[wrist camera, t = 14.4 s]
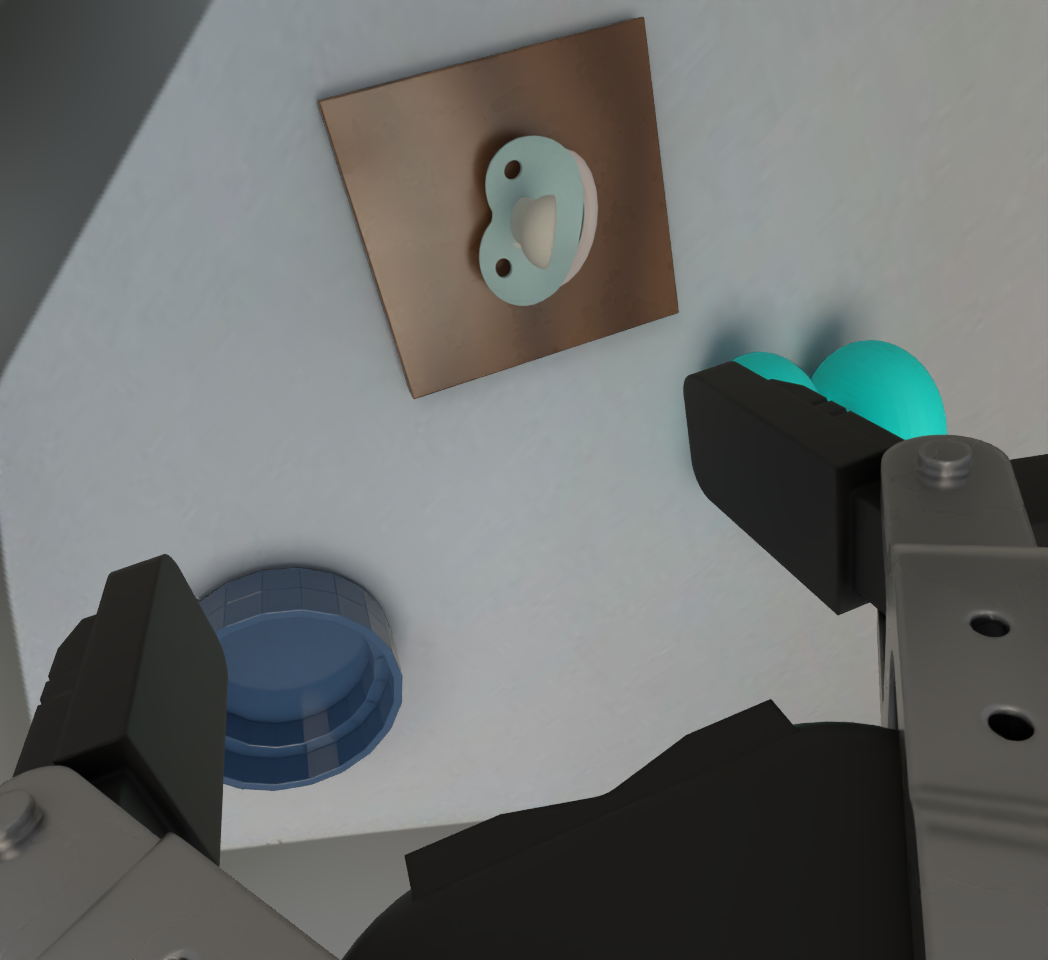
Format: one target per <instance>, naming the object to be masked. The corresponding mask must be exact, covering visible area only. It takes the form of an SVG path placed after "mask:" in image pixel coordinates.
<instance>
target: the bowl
mask: <svg viewBox="0 0 1048 960" xmlns="http://www.w3.org/2000/svg"><path fill="white" fill-rule="evenodd" d="M199 604H200V606H201V608H202V610H203V612H204V613H205V615H206V617H207V619H208V620H209V622H210V624H211V626H212V628H213V629H214V631H215V633H216V635H217V637H218V639H219V641H220V644H221V646H222V649H223V652H224V656H225V659H226V664H227V670H228V690H227V711H226V733H225V755H224V777H223V784H226V785H230V786H233V787H236V788H241V789H252V790H270V791H275V790H276V791H277V790H283V789H289V788H295V787H301V786H307V785H310V784H311V785H312V784H314V783H317V782H319V781H322V780H324V779H327V778H329V777H332V776H334V775H337V774H339V773H342V772H343V771H345V770H347V769H348V768H350V767H351V766H353V765H354V764H355V763H357V762H358V761H360V760H361V759H363V758H364V757H366V756H367V755H368V754H370V752H372V751H373V750H374V748H375V747H376V746H377V745H378V744H379V743H380V741H381V740H382V739H383V738H384V737H385V736H386V734H387V733H388V732H389V731H390V729H391V728H392V725H393V723H394V720H395V718H396V716H397V713H398V711H399V708H400V706H401V704H402V677H403V676H402V672H401V668H400V664H399V660H398V655H397V652H396V647H395V643H394V639H393V635H392V631H391V629H390V627H389V624H388V622H387V619H386V617H385V614H384V612H383V610H382V608H381V607H380V606H379V605H378V604H377V603H376V602H375V601H374V600H373V598H372V597H371V596H370V595H369V594H368V593H367V592H366V591H365V590H364V589H363V588H361V587H359V586H357V585H355V584H353V583H351V582H349V581H347V580H345V579H343V578H341V577H339V576H337V575H335V574H334V575H333V574H332V573H326V572H321V571H315V570H310V569H304V568H287V569H275V570H263V571H259V572H256V573H254V574H251V575H248V576H245V577H242V578H239V579H236V580H234V581H231V582H228V583H227V584H225V585H223V586H222V587H220V588H219V589H217V590H216V591H215V592H213V593H212V594H210V595H209V596H207V597H206V598H204V599H203V600H202V601H200V602H199Z"/></svg>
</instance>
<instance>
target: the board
mask: <svg viewBox="0 0 1048 960" xmlns="http://www.w3.org/2000/svg"><path fill="white" fill-rule="evenodd" d="M317 104H318V107H319V110H320V113H321V116H322V120H323V123H324V126H325V129H326V132H327V135H328V138H329V141H330V145H331V148H332V151H333V154H334V157H335V160H336V163H337V166H338V169H339V173H340V176H341V179H342V182H343V185H344V188H345V191H346V194H347V198H348V201H349V204H350V207H351V210H352V213H353V216H354V219H355V222H356V226H357V229H358V232H359V235H360V238H361V241H362V244H363V247H364V251H365V254H366V257H367V260H368V263H369V266H370V269H371V272H372V275H373V279H374V282H375V285H376V288H377V291H378V294H379V297H380V300H381V304H382V307H383V310H384V313H385V316H386V319H387V322H388V325H389V328H390V332H391V335H392V338H393V341H394V344H395V347H396V350H397V353H398V357H399V360H400V363H401V366H402V369H403V372H404V375H405V378H406V381H407V385H408V388H409V391H410V393H411V395H412V397H413V399H416V398H419V397H422V396H425V395H429V394H432V393H435V392H438V391H441V390H444V389H447V388H450V387H453V386H456V385H459V384H462V383H465V382H468V381H471V380H474V379H477V378H480V377H484V376H487V375H490V374H493V373H496V372H499V371H502V370H505V369H508V368H511V367H514V366H517V365H520V364H523V363H526V362H529V361H532V360H536V359H539V358H542V357H545V356H548V355H551V354H554V353H557V352H560V351H563V350H566V349H569V348H572V347H575V346H578V345H581V344H584V343H587V342H591V341H594V340H597V339H600V338H603V337H606V336H609V335H612V334H615V333H618V332H621V331H624V330H627V329H630V328H633V327H636V326H639V325H643V324H646V323H649V322H652V321H655V320H658V319H661V318H664V317H667V316H670V315H673V314H676V313H678V312H679V310H678V302H677V293H676V285H675V276H674V268H673V259H672V251H671V242H670V234H669V225H668V217H667V208H666V200H665V191H664V183H663V174H662V166H661V157H660V149H659V140H658V132H657V123H656V115H655V106H654V98H653V89H652V81H651V72H650V64H649V55H648V47H647V38H646V30H645V21H644V17H638V18H633V19H629V20H625V21H621V22H617V23H614V24H610V25H606V26H602V27H598V28H594V29H590V30H587V31H583V32H579V33H575V34H571V35H567V36H563V37H560V38H556V39H552V40H548V41H544V42H540V43H536V44H533V45H529V46H525V47H521V48H517V49H513V50H509V51H506V52H502V53H498V54H494V55H490V56H486V57H482V58H479V59H475V60H471V61H467V62H463V63H459V64H455V65H452V66H448V67H444V68H440V69H436V70H432V71H428V72H425V73H421V74H417V75H413V76H409V77H405V78H401V79H398V80H394V81H390V82H386V83H382V84H378V85H374V86H371V87H367V88H363V89H359V90H355V91H351V92H347V93H344V94H340V95H336V96H332V97H328V98H324V99H320V100H318V101H317ZM524 136H542V137H547V138H549V139H552V140H554V141H556V142H558V143H559V144H561V145H562V146H563V147H564V148H566V149H569V150H572V151H575V152H576V153H577V154H578V155H579V156H580V157H581V158H582V159H584V161H585V162H586V164H587V166H588V168H589V169H590V171H591V173H592V176H593V179H594V183H595V186H596V191H597V201H598V216H597V227H596V231H595V236H594V240H593V244H592V246H591V249H590V251H589V254H588V256H587V258H586V260H585V262H584V263H583V265H582V267H581V268H580V270H579V271H578V272H577V273H576V274H575V275H574V276H573V277H572V278H571V280H570V281H569V282H567V283H565V284H563V285H562V286H560V287H559V288H558V290H557V291H556V292H555V293H553V294H552V295H551V296H550V297H548V298H546V299H545V300H543V301H541V302H539V303H536V304H533V305H528V306H518V305H513V304H510V303H508V302H505V301H503V300H502V299H500V298H499V297H498V296H496V295H495V294H494V293H493V292H492V291H491V289H490V288H489V287H488V285H487V284H486V282H485V280H484V278H483V276H482V273H481V269H480V264H479V248H480V244H481V240H482V237H483V235H484V232H485V230H486V228H487V227H488V225H489V224H490V223H491V220H492V210H491V208H490V206H489V204H488V200H487V196H486V190H485V179H486V173H487V169H488V166H489V164H490V162H491V160H492V158H493V157H494V155H495V154H496V153H497V152H498V150H499V149H500V148H502V147H503V146H504V145H505V144H507V143H508V142H510V141H512V140H514V139H516V138H519V137H524ZM520 168H521V167H520V164H519V162H518V161H517V160H512V161H510V162H508V163H507V165H506V166H505V169H504V174H505V176H506V178H508V179H514V178H516V177H517V176H518V174H519V173H520ZM495 269H496V273H497V274H498V276H500V277H505V276H507V275H508V274H509V273H510V269H511V266H510V262H509V261H508V260H507V259H505V258H502V259H500V260H498V261H497V263H496V267H495Z"/></svg>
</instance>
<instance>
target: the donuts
mask: <svg viewBox="0 0 1048 960" xmlns="http://www.w3.org/2000/svg"><path fill="white" fill-rule="evenodd" d="M732 361H735V362H737V363H739V364H741V365H743V366H744V367H746V368H748V369H750V370H751V371H753V372H755V373H757V374H759V375H760V376H762V377H764V378H766V379H767V380H770V379H776V380H781V381H785V382H790V383H795V384H800V385H804V386H806V387H808V388H810V389H811V390H813V391H815V392H817V393H819V394H821V395H823V396H824V397H826V398H827V400H828V401H831V400H832V401H834V402H836V403H837V404H839V405H841V406H843V407H845V408H846V411H847V412H848V411H852V412H854V413H856V414H858V415H860V416H862V417H864V418H865V419H867V420H869V421H871V422H873V423H875V424H877V425H878V426H880V427H882V428H884V429H886V430H888V431H890V432H891V433H893V434H895V435H897V436H899V437H901V438H903V439H904V440H907V439H911V438H915V437H920V436H927V435H947V425H946V416H945V411H944V406H943V402H942V399H941V396H940V393H939V391H938V389H937V387H936V385H935V383H934V381H933V379H932V377H931V376H930V374H929V373H928V371H927V370H926V369H925V367H924V366H923V365H922V364H921V363H920V362H919V361H918V360H917V359H916V358H915V357H914V356H912V355H911V354H910V353H908V352H907V351H905V350H903V349H902V348H900V347H898V346H896V345H893V344H891V343H887V342H882V341H876V340H867V341H858V342H854V343H851V344H849V345H846V346H843V347H842V348H840V349H838V350H837V351H835V352H834V353H832V354H831V355H830V356H828V357H827V358H826V359H825V360H824V361H823V362H822V364H821V365H820V366H819V367H818V369H817V370H816V371H815V373H814V374H813V376H812V378H811V380H810V378H809V377H808V376H807V375H806V374H805V373H804V372H803V371H802V370H801V369H800V368H799V367H798V366H796V365H795V364H794V363H792V362H791V361H789V360H788V359H786V358H784V357H781V356H779V355H776V354H773V353H767V352H753V353H747V354H744V355H742V356H739V357H737V358H735V359H733V360H732Z"/></svg>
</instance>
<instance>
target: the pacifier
mask: <svg viewBox="0 0 1048 960" xmlns="http://www.w3.org/2000/svg"><path fill="white" fill-rule="evenodd" d="M512 160H517V161H518V162H519V164H520V167H521V168H520V173H519V174H518V176H517V177H516V178H514V179H508V178H506V176H505V174H504V169H505V166H506V165H507V163H508V162H510V161H512ZM485 190H486V196H487V200H488V204H489V206H490V208H491V210H492V220H491V223H490V224H489V225H488V227H487V228H486V230H485V232H484V235H483V237H482V240H481V244H480V248H479V264H480V269H481V273H482V276H483V278H484V280H485V282H486V284H487V285H488V287H489V288H490V289H491V291H492V292H493V293H494V294H495V295H496V296H498V297H499V298H500V299H502V300H503V301H505V302H508V303H510V304H513V305H518V306H528V305H533V304H536V303H539V302H541V301H543V300H545V299H546V298H548V297H550V296H551V295H552V294H553V293H555V292H556V291H557V290H558V288H559V287H560V286H562V285H563V284H565V283H567V282H569V281H570V280H571V278H572V277H573V276H574V275H575V274H576V273H577V272H578V271H579V270H580V268H581V267H582V265H583V263H584V262H585V260H586V258H587V256H588V254H589V251H590V249H591V246H592V244H593V240H594V236H595V231H596V227H597V216H598V201H597V191H596V186H595V183H594V179H593V176H592V173H591V171H590V169H589V168H588V166H587V164H586V162H585V161H584V159H582V158H581V157H580V156H579V155H578V154H577V153H576V152H575V151H572V150H569V149H566V148H564V147H563V146H562V145H561V144H559V143H558V142H556V141H554V140H552V139H549V138H547V137H542V136H524V137H519V138H516V139H514V140H512V141H510V142H508V143H507V144H505V145H504V146H503V147H502V148H500V149H499V150H498V152H497V153H496V154H495V155H494V157H493V158H492V160H491V162H490V164H489V166H488V169H487V173H486V179H485ZM502 258H505V259H507V260H508V261H509V262H510V266H511V269H510V273H509V274H508V275H507V276H505V277H500V276H498V274H497V273H496V269H495V267H496V263H497V261H498V260H500V259H502Z"/></svg>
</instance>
